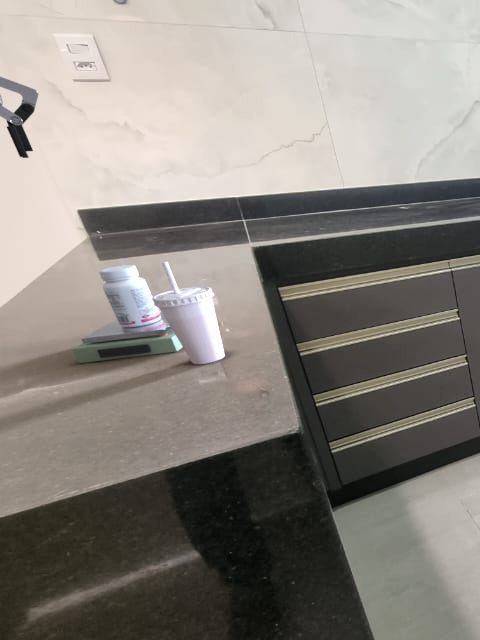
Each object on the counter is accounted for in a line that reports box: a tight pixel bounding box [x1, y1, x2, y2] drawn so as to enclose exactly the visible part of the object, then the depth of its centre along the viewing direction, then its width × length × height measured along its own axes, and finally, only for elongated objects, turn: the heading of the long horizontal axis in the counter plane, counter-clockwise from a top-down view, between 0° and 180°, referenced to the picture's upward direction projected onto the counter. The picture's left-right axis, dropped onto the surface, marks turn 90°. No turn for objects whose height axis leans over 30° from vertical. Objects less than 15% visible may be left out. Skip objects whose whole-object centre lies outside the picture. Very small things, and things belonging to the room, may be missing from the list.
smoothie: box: [152, 261, 226, 365], centre depth 72 cm, size 6×6×14 cm
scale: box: [71, 330, 184, 364], centre depth 81 cm, size 12×12×2 cm
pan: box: [80, 312, 172, 343], centre depth 80 cm, size 10×10×1 cm
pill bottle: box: [98, 264, 161, 328], centre depth 78 cm, size 5×5×8 cm
